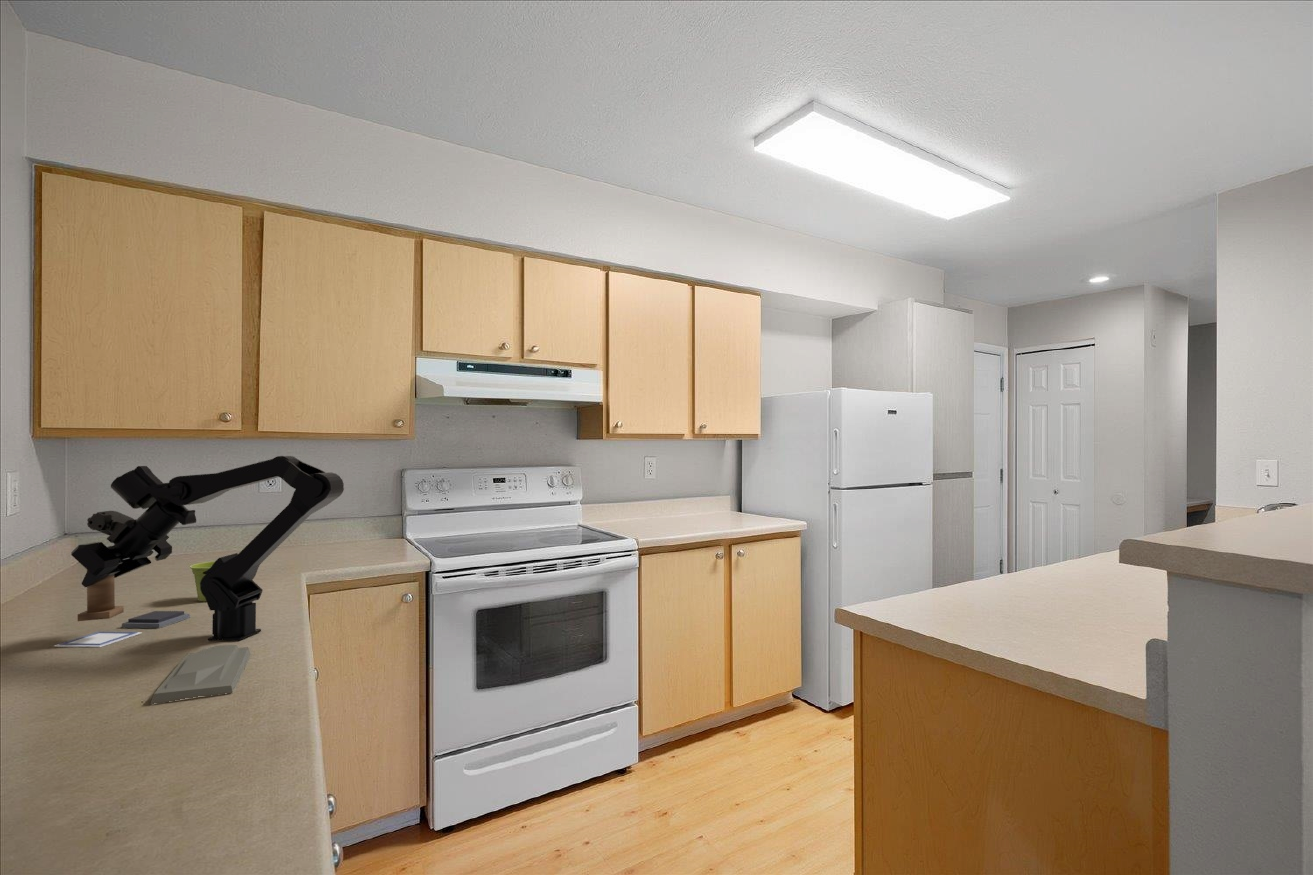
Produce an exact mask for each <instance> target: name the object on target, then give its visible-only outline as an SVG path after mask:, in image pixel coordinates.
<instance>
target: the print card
mask: <svg viewBox="0 0 1313 875" xmlns="http://www.w3.org/2000/svg"><path fill="white" fill-rule="evenodd" d="M140 634H143V632H141V631H97V632H94V633H93V632H92V633H91V634H87V635H84V636H81V637H77V638H74V639H71V640H67V641H64V642H61V643H58V644H55V645H53V647H55V648H56V647H57V648H61V647H62V648H101V647H105V646H108V645H110V644H111V645H112V644H114V643H117V642H120V641H122V640H126V639H128V638H132V637H134V636H137V635H140Z"/></svg>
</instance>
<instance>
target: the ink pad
mask: <svg viewBox="0 0 1313 875" xmlns="http://www.w3.org/2000/svg"><path fill="white" fill-rule="evenodd" d="M190 616H191V614H190V613H185V611H183V610H153V611H151V612H147V613H143V614H140V615H138V616H134V617H132V618H131V617H129V618H128V620H127V621H125V622H122V623H121V628H122V629H124V628H125V629H129V628H130V629H160V628H164V627H167V626H169V625H173V624H175V623H178V622H181V621H184V620H187V619H190V618H191V617H190Z"/></svg>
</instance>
